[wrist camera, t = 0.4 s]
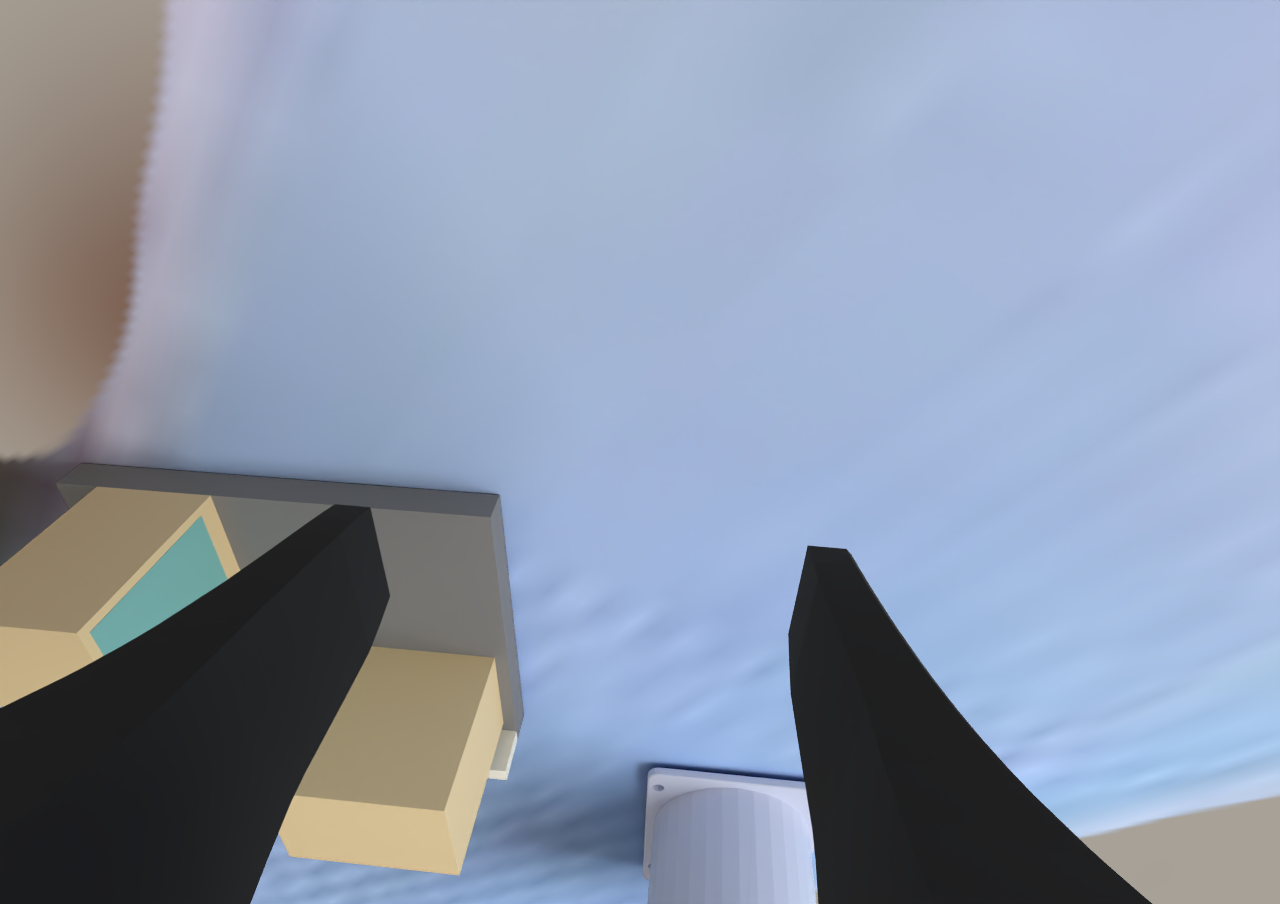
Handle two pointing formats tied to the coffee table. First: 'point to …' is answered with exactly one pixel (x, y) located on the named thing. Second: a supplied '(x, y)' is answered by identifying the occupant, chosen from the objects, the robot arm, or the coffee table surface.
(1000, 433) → the coffee table surface
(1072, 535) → the coffee table surface
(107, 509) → the carton
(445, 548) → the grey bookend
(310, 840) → the carton faced
